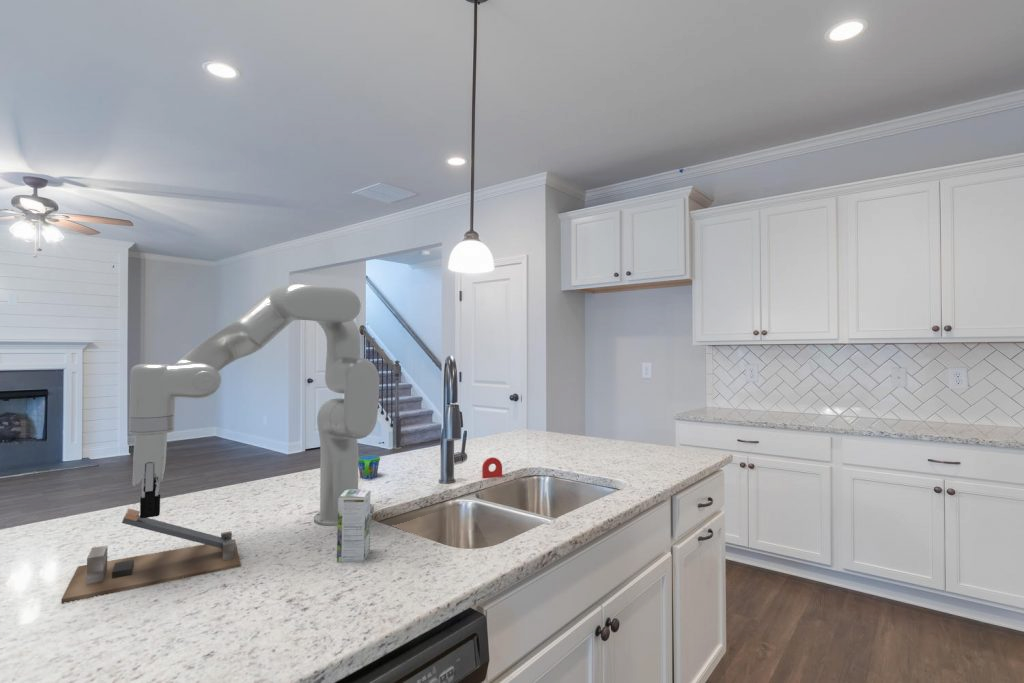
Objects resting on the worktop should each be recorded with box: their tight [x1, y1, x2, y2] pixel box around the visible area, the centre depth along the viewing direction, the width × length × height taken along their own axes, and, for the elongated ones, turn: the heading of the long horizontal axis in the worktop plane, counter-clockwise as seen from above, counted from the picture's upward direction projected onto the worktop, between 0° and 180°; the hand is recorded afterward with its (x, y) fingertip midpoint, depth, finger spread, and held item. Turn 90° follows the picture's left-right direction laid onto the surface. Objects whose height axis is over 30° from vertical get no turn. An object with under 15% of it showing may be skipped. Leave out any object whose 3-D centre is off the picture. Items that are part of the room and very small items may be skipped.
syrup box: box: [336, 488, 372, 563], centre depth 110 cm, size 6×6×14 cm
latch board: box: [60, 531, 242, 604], centre depth 105 cm, size 28×16×6 cm, turn 122°
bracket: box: [481, 457, 504, 479], centre depth 176 cm, size 12×4×8 cm, turn 109°
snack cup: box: [358, 454, 381, 480], centre depth 179 cm, size 11×8×7 cm
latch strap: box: [121, 508, 233, 549], centre depth 107 cm, size 21×5×2 cm, turn 122°
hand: (150, 515), depth 104 cm, fingers closed
